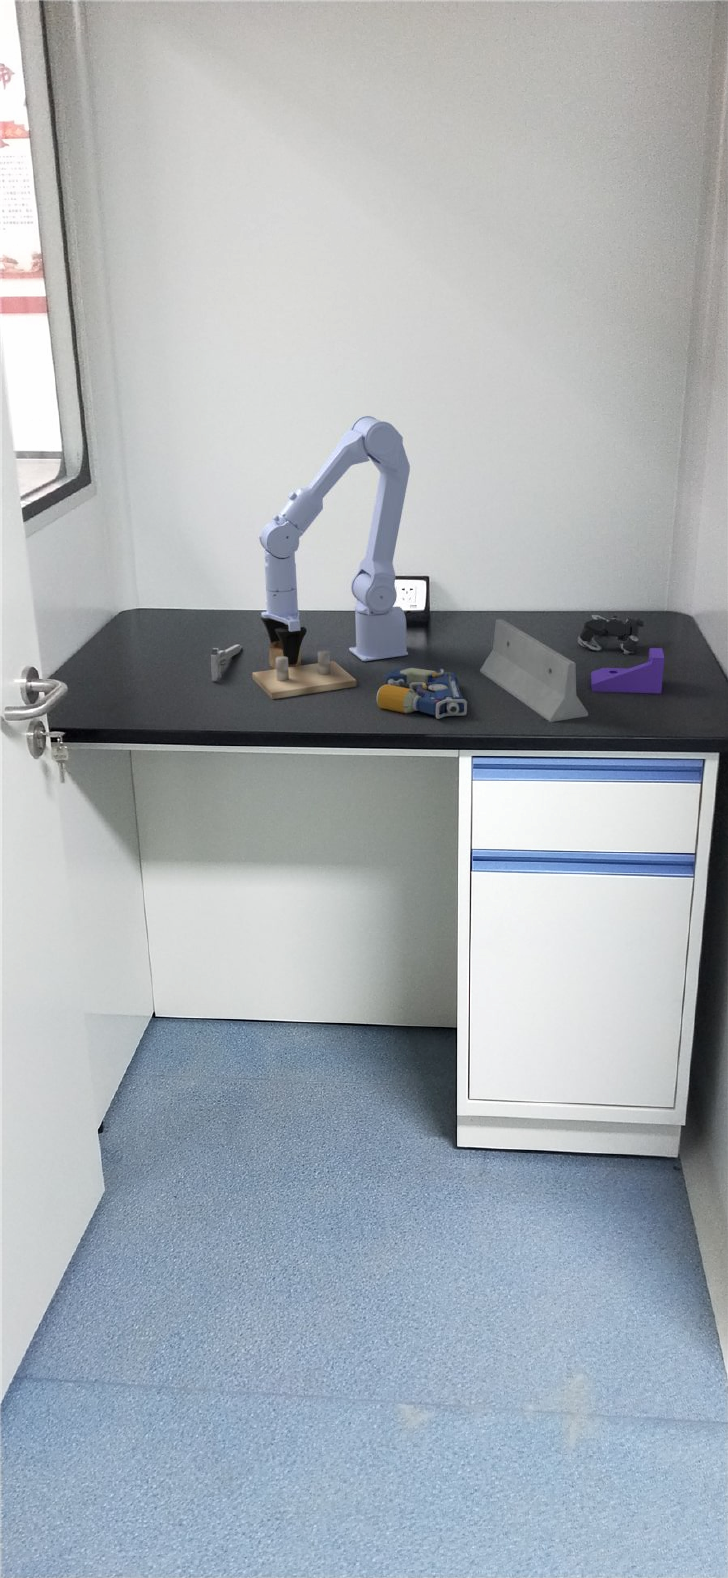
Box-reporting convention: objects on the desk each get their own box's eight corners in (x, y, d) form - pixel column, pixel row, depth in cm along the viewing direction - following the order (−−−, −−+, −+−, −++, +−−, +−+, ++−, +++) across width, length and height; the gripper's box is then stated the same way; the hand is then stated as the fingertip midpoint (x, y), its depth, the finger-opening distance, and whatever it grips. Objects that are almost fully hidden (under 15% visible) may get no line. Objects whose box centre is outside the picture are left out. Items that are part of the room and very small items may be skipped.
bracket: (658, 682, 213) (661, 645, 210) (661, 695, 206) (664, 657, 204) (590, 680, 214) (593, 643, 212) (591, 692, 208) (593, 655, 205)
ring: (294, 658, 228) (293, 638, 226) (304, 667, 223) (303, 646, 222) (267, 662, 226) (265, 642, 225) (275, 671, 222) (274, 650, 220)
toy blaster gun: (378, 724, 196) (467, 723, 197) (378, 700, 195) (468, 699, 195) (373, 684, 215) (454, 684, 216) (373, 662, 214) (455, 662, 214)
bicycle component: (590, 619, 241) (567, 642, 229) (605, 589, 237) (582, 611, 225) (642, 646, 238) (622, 671, 227) (658, 617, 234) (638, 640, 223)
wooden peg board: (333, 666, 223) (332, 640, 221) (356, 686, 213) (355, 658, 211) (252, 678, 218) (250, 651, 216) (272, 699, 208) (270, 671, 206)
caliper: (217, 683, 217) (215, 651, 214) (211, 683, 217) (209, 650, 214) (242, 649, 235) (240, 619, 232) (237, 649, 235) (234, 618, 233)
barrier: (588, 717, 197) (591, 660, 193) (550, 723, 195) (552, 666, 191) (514, 668, 221) (516, 616, 217) (479, 673, 219) (480, 621, 215)
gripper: (249, 581, 223) (254, 649, 229) (272, 600, 211) (276, 672, 217) (285, 577, 226) (288, 645, 231) (309, 595, 213) (312, 666, 219)
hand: (285, 657), depth 224 cm, fingers open, 7 cm apart
